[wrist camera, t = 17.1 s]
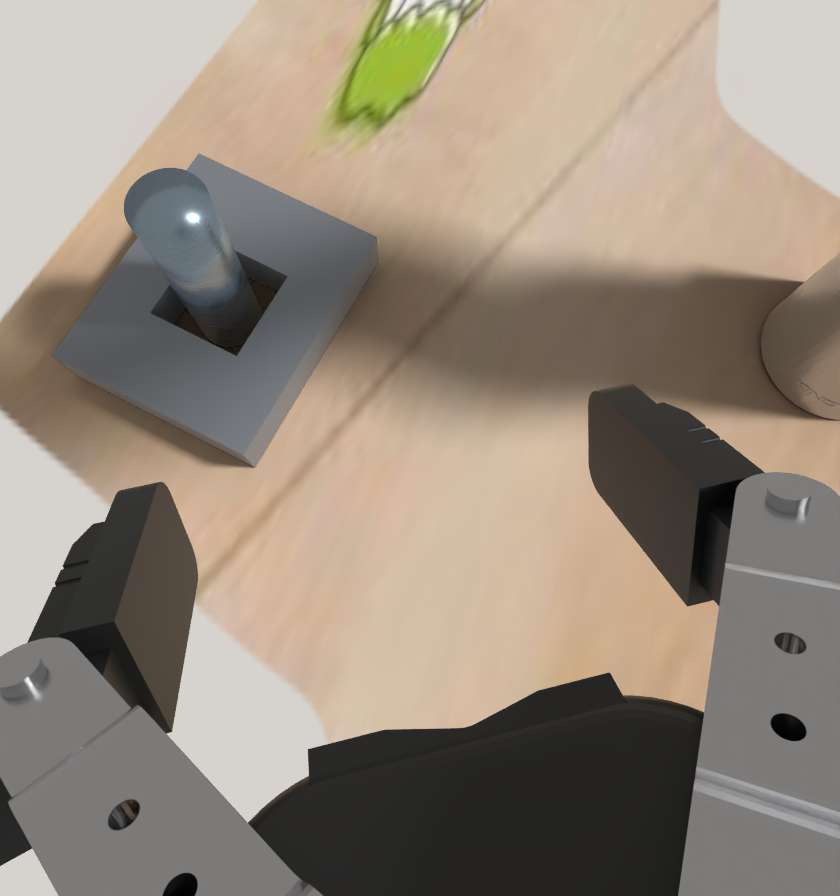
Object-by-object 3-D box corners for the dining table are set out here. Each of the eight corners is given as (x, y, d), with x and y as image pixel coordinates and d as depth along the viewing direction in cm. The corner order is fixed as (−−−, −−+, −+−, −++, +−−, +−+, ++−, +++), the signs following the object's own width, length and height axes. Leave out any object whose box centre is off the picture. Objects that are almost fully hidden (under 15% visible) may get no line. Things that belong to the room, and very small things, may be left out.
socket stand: (211, 184, 44) (198, 153, 42) (377, 262, 43) (376, 237, 40) (75, 375, 40) (51, 355, 38) (254, 467, 39) (243, 455, 36)
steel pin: (220, 281, 43) (153, 155, 31) (273, 306, 42) (226, 188, 31) (188, 330, 42) (107, 220, 30) (242, 357, 41) (181, 255, 30)
